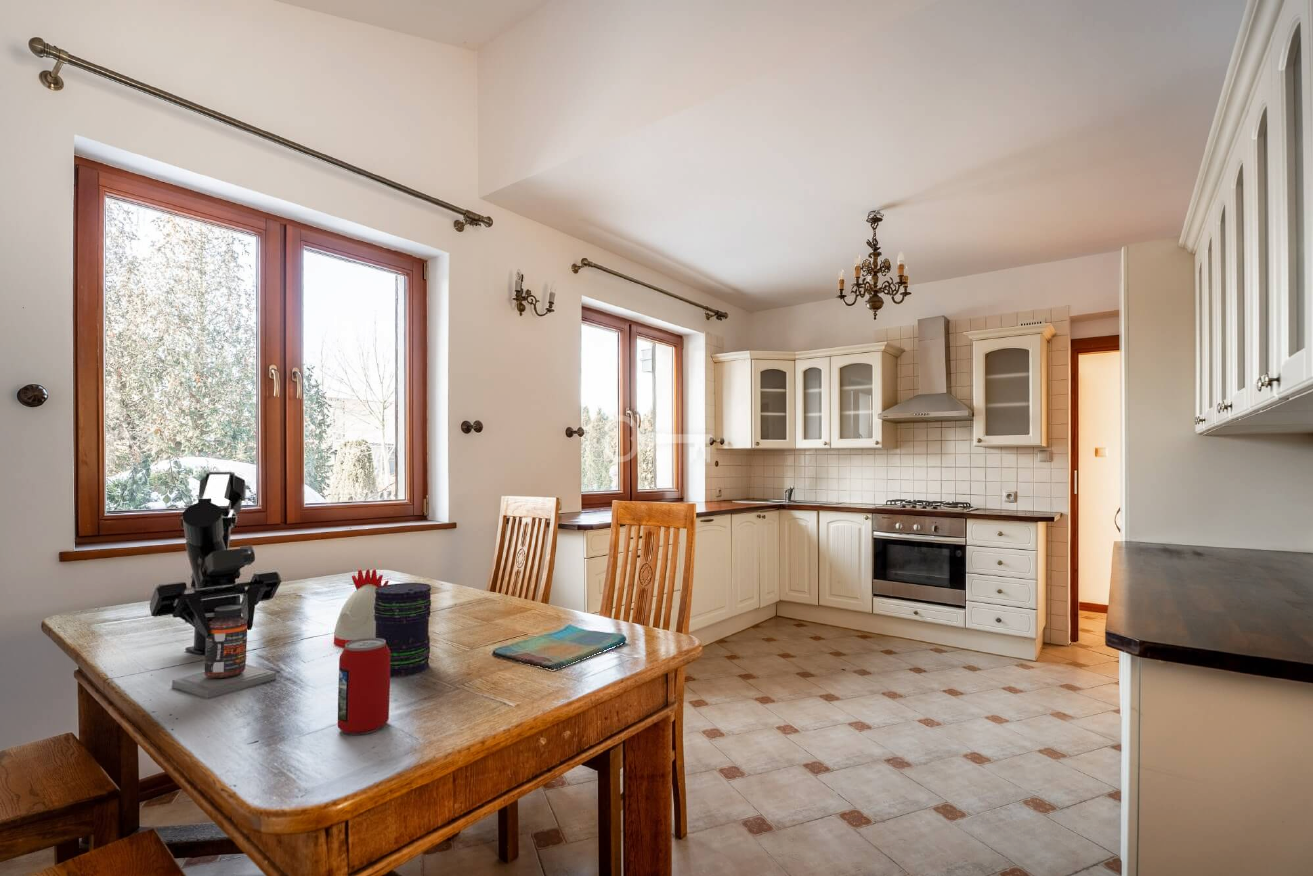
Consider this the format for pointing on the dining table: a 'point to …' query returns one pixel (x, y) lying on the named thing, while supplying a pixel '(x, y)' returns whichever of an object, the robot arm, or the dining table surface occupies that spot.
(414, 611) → the dark blue cylinder
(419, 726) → the dining table surface
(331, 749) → the dining table surface
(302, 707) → the dining table surface
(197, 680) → the plate
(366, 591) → the kitchen timer
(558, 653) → the dish towel
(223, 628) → the supplement bottle
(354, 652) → the beverage can
